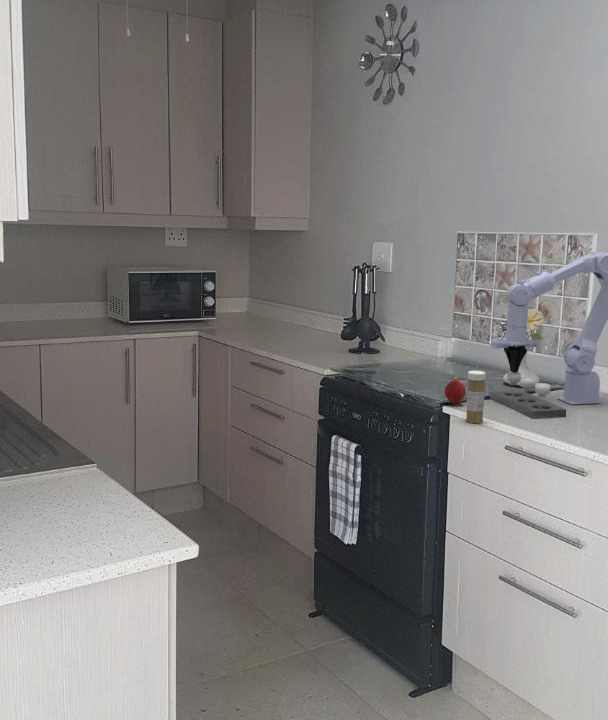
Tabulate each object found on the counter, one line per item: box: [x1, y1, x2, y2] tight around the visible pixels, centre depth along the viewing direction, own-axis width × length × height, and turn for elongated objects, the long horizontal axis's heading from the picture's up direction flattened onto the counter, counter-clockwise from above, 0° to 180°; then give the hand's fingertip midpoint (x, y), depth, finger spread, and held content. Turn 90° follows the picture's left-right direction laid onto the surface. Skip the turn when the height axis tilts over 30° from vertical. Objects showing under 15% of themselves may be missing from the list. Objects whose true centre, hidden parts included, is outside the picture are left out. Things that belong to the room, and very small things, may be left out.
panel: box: [489, 389, 567, 419], centre depth 237 cm, size 10×25×2 cm, turn 15°
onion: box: [444, 376, 466, 405], centre depth 239 cm, size 6×6×8 cm
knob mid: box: [520, 377, 535, 392], centre depth 236 cm, size 4×4×3 cm
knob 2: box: [534, 382, 551, 399], centre depth 229 cm, size 4×4×3 cm
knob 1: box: [506, 371, 521, 386], centre depth 244 cm, size 4×4×3 cm
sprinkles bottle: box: [465, 370, 486, 424], centre depth 219 cm, size 5×5×13 cm
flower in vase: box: [502, 308, 545, 387], centre depth 264 cm, size 13×11×25 cm
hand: (514, 372), depth 244 cm, fingers closed
